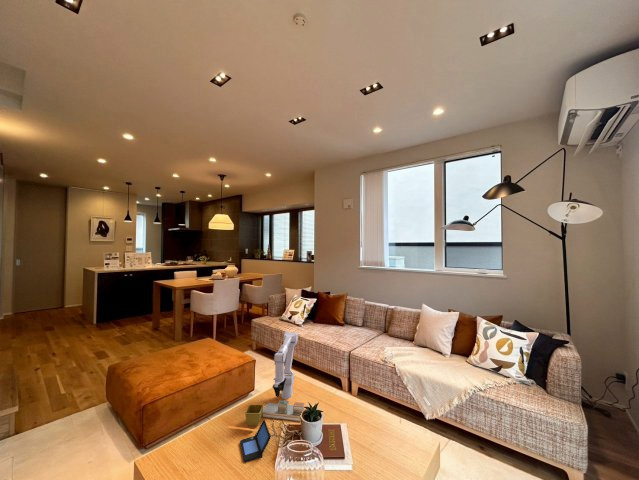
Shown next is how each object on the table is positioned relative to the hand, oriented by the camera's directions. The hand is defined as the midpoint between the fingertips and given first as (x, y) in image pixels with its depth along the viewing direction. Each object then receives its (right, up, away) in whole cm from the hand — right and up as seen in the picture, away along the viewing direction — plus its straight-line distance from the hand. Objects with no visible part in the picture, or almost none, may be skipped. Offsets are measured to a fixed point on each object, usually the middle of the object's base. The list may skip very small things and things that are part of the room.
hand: (279, 393), depth 172 cm
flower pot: (-13, -10, -15) cm, 22 cm away
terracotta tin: (+13, -9, -7) cm, 17 cm away
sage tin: (+3, -9, -4) cm, 11 cm away
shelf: (+4, -10, -4) cm, 12 cm away
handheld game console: (-8, -10, -34) cm, 36 cm away
